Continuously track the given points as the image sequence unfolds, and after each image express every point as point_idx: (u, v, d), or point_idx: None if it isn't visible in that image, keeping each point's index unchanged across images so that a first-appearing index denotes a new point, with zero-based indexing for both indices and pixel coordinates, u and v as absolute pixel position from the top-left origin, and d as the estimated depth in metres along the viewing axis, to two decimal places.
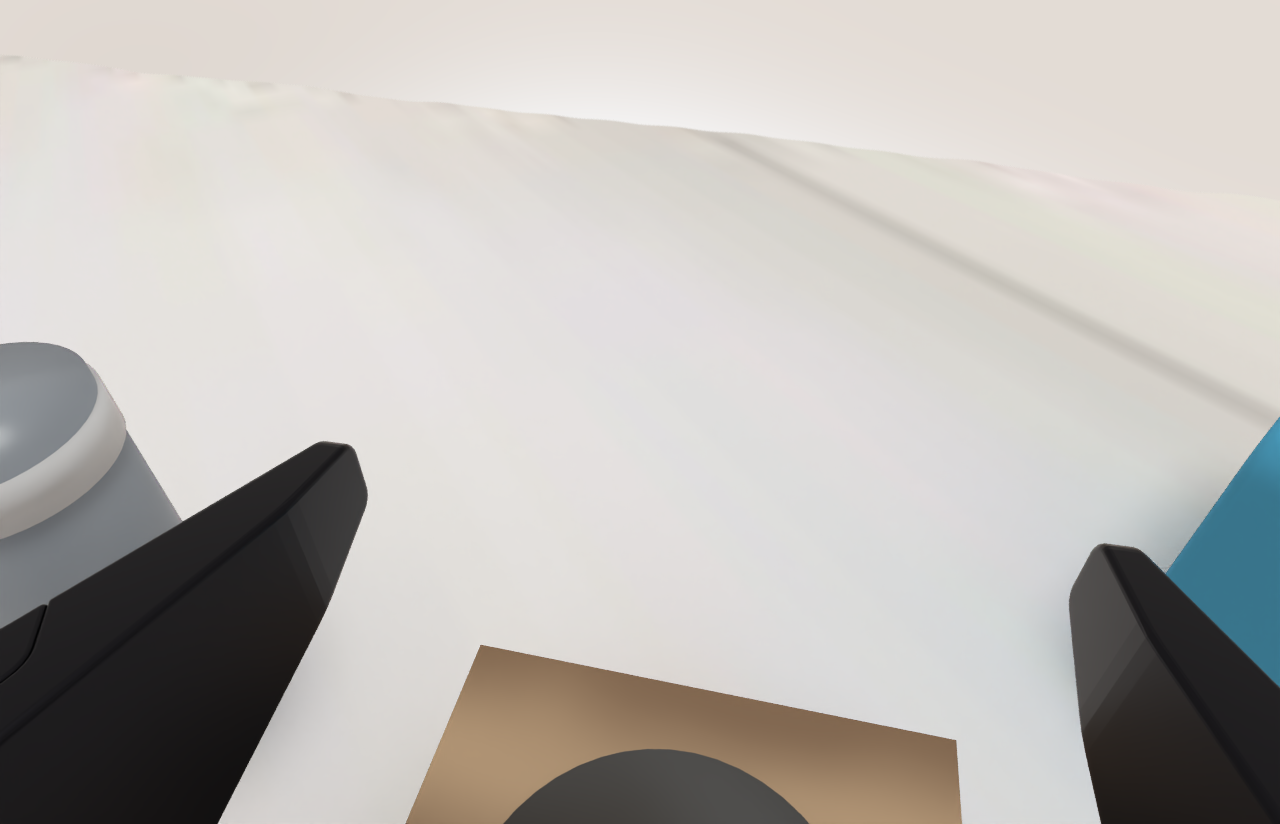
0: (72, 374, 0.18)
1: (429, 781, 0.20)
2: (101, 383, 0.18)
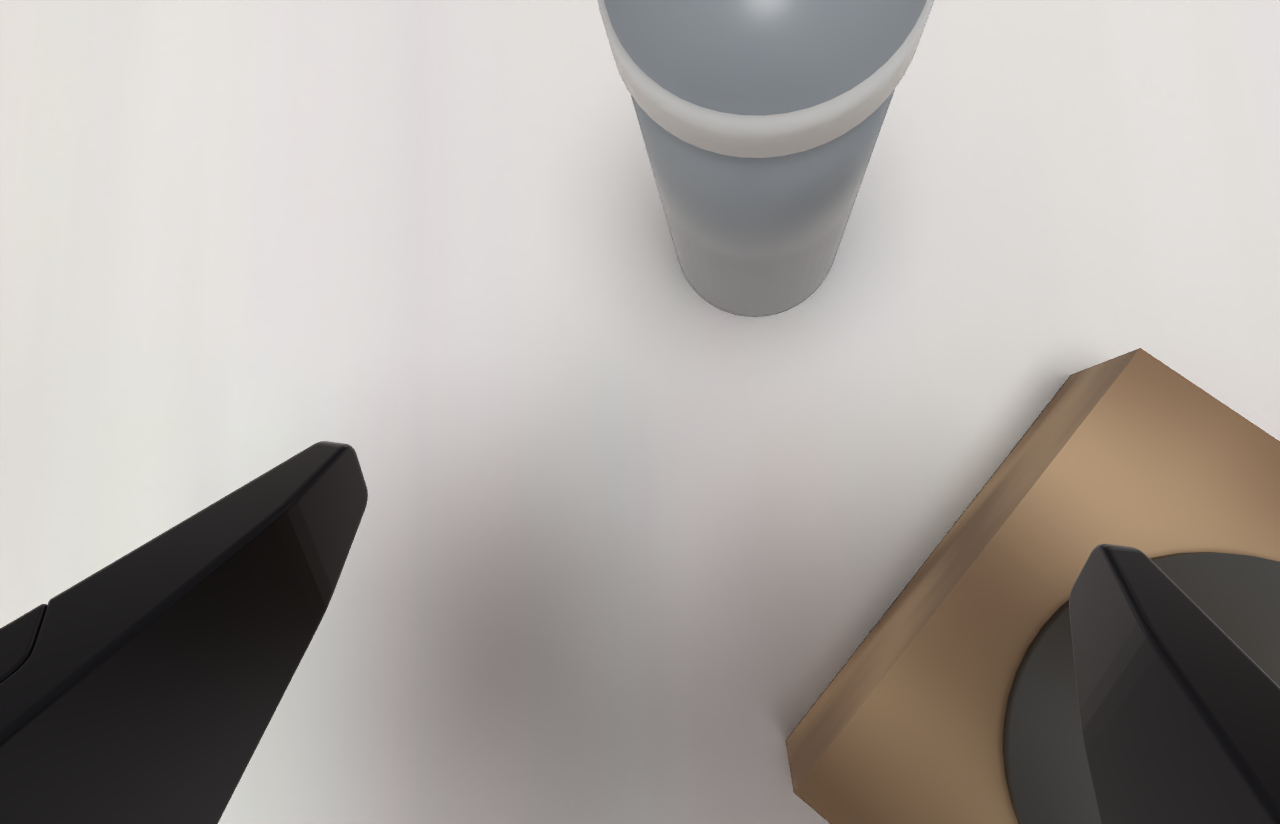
0: None
1: (1042, 485, 0.18)
2: None
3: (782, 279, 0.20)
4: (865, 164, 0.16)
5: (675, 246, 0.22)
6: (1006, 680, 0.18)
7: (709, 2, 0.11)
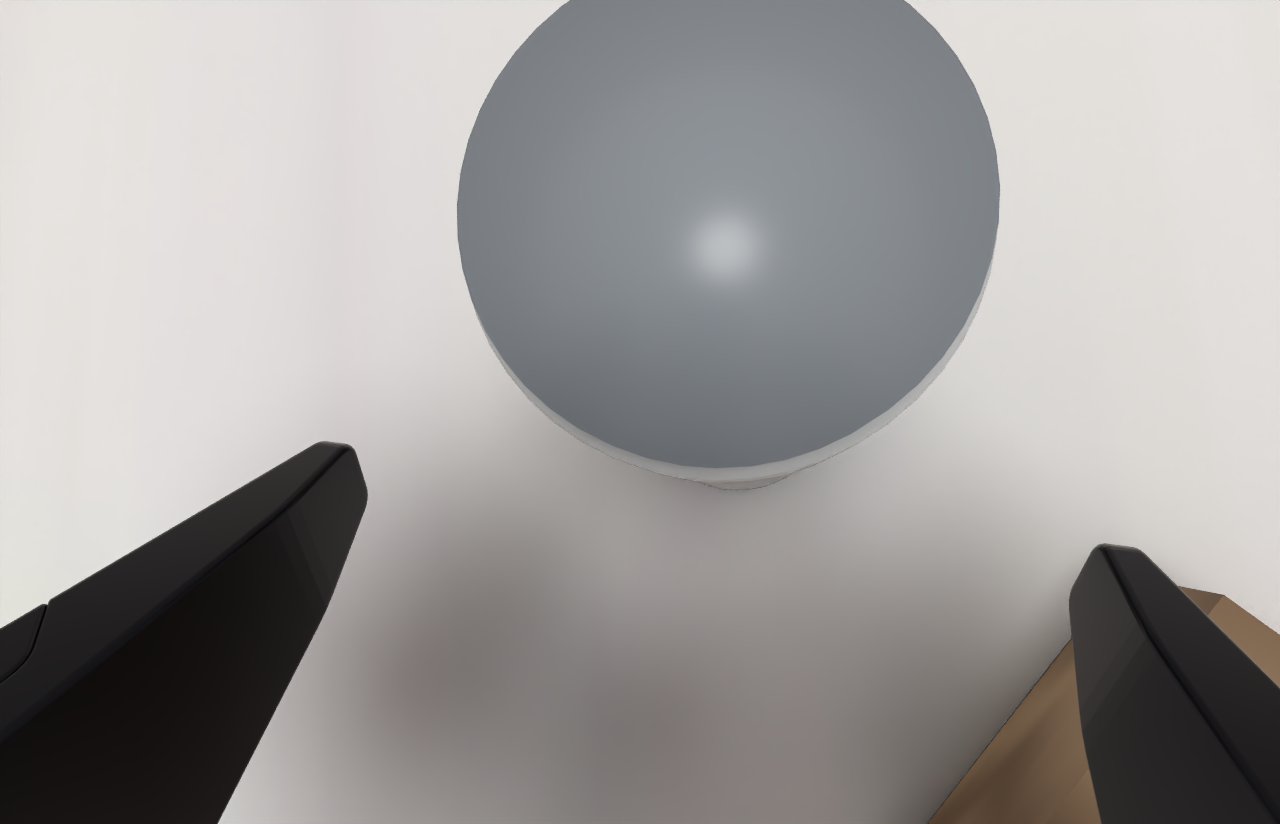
0: (956, 149, 0.07)
1: None
2: (991, 168, 0.07)
3: (765, 483, 0.16)
4: None
5: None
6: None
7: (628, 295, 0.07)
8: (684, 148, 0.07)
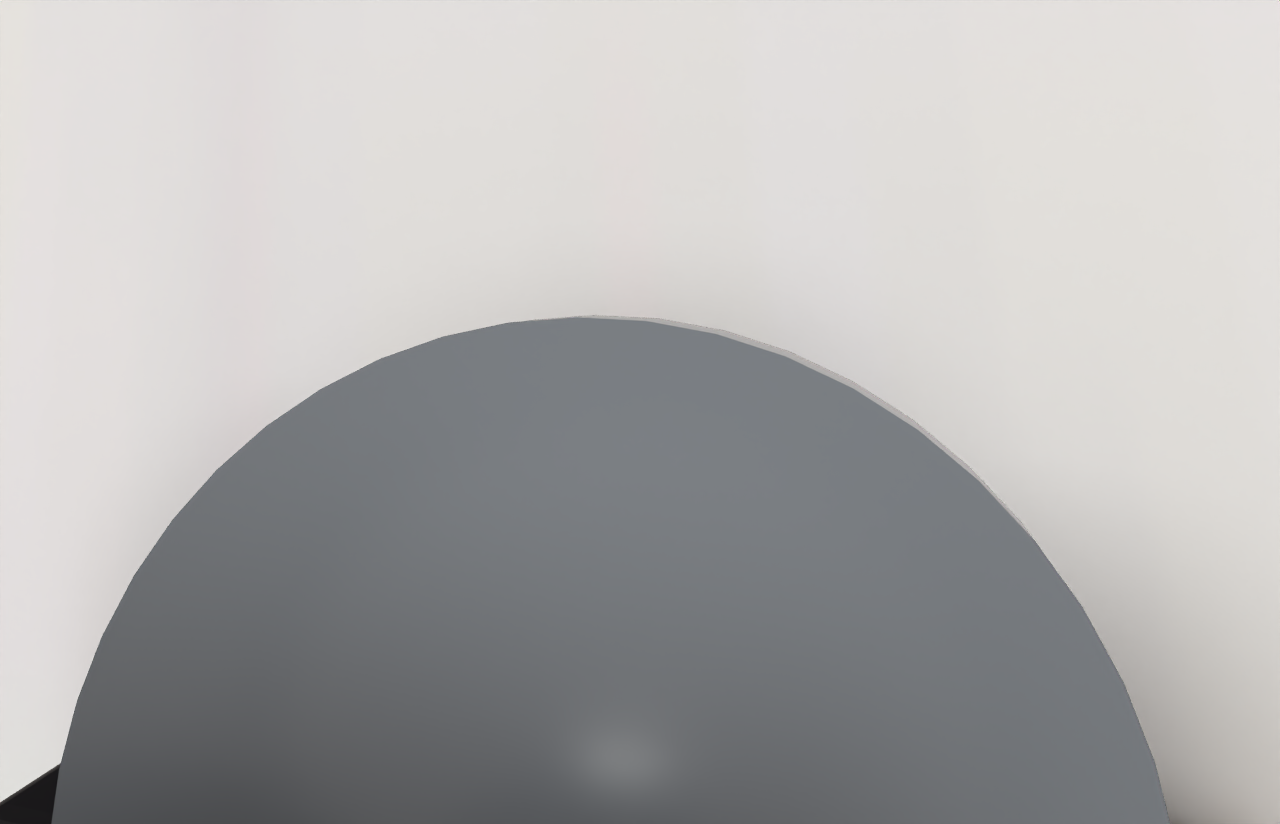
0: None
1: None
2: (1143, 806, 0.03)
3: None
4: None
5: None
6: None
7: None
8: (500, 762, 0.03)
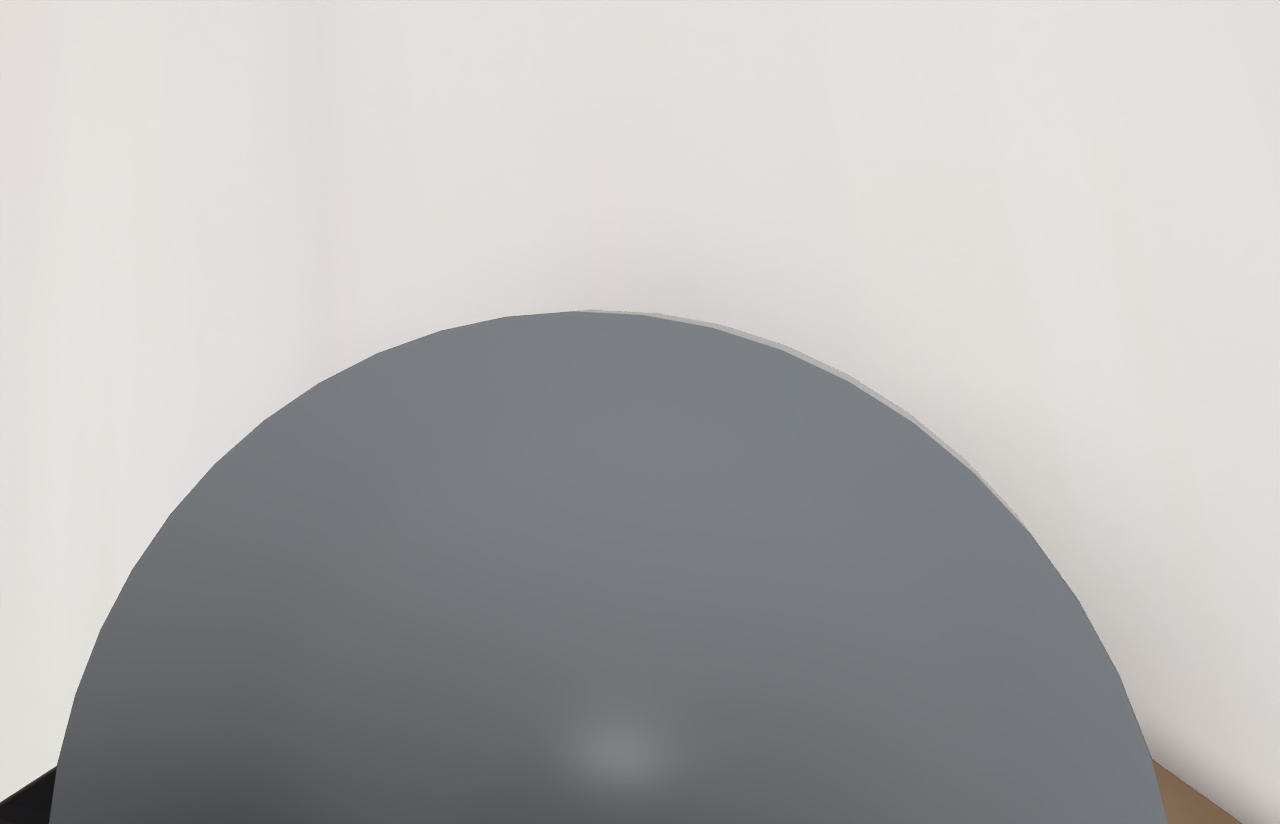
0: None
1: None
2: (1141, 796, 0.03)
3: None
4: None
5: None
6: None
7: None
8: (497, 755, 0.03)
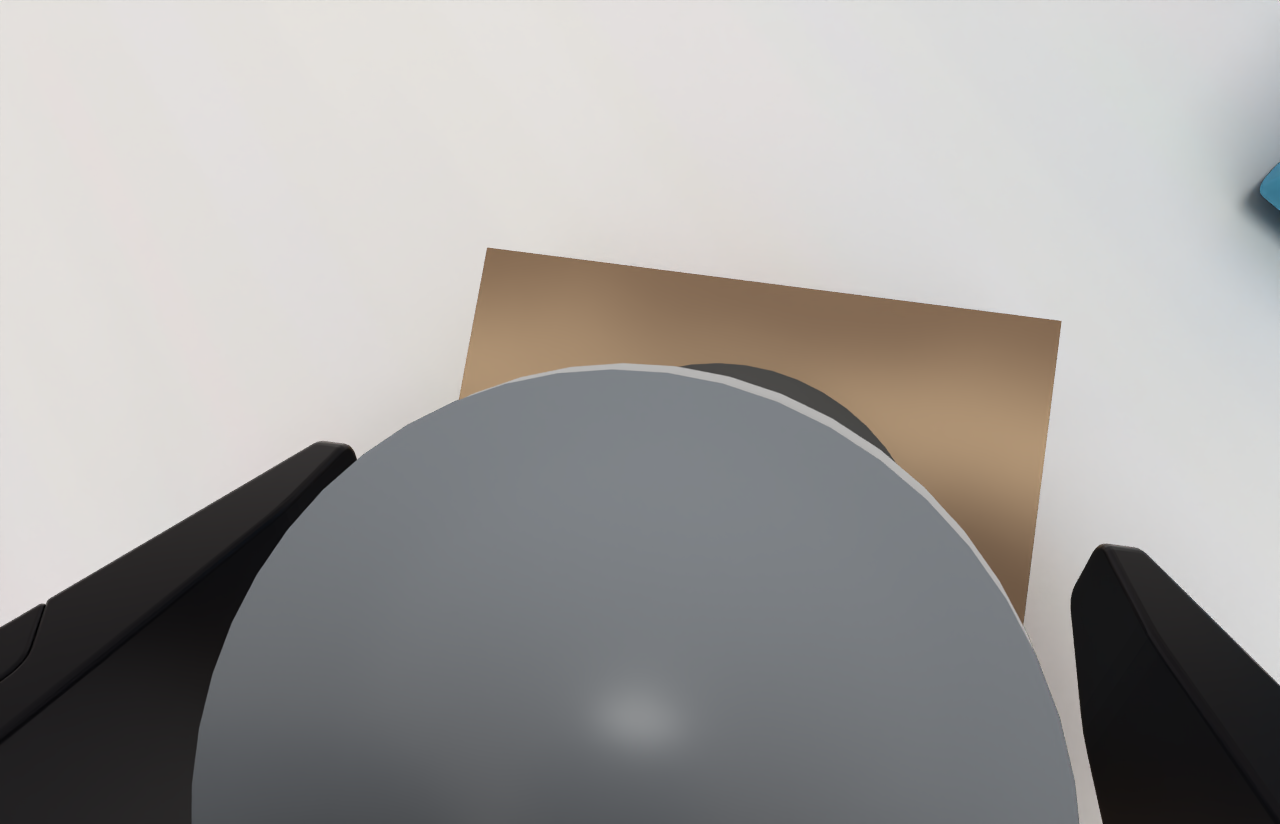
0: (1004, 771, 0.04)
1: None
2: (1058, 754, 0.04)
3: None
4: None
5: None
6: None
7: None
8: (553, 721, 0.04)
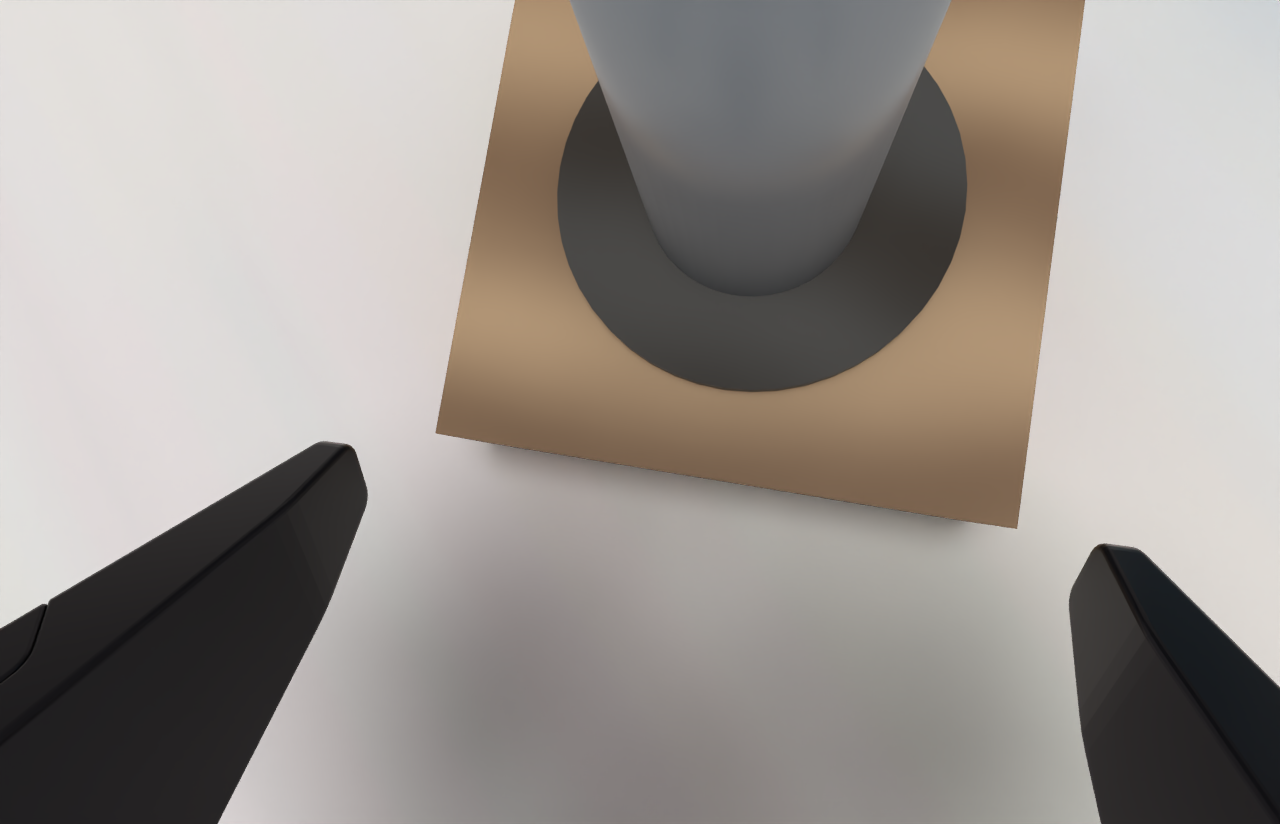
0: None
1: (509, 63, 0.19)
2: None
3: (792, 239, 0.14)
4: (935, 31, 0.09)
5: None
6: (558, 235, 0.19)
7: None
8: None
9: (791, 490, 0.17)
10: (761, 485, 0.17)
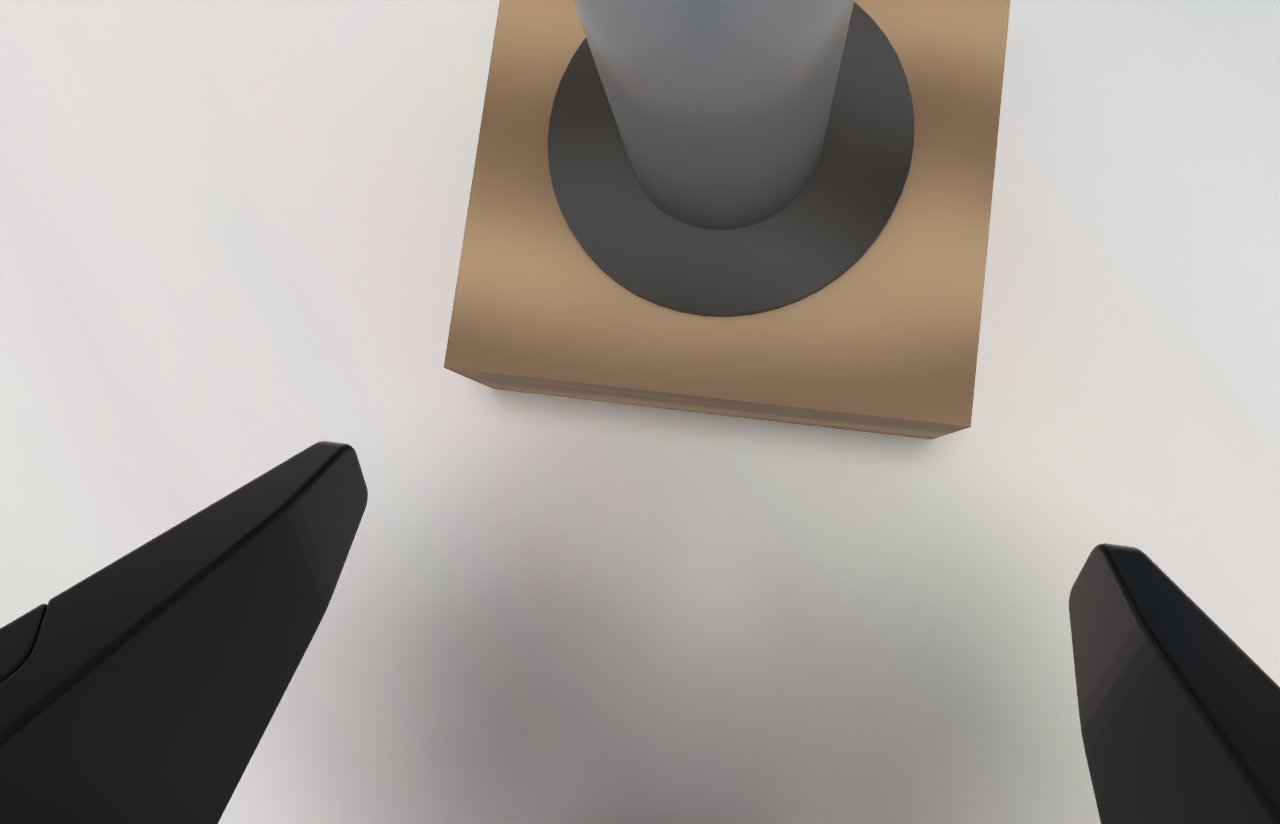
0: None
1: (500, 33, 0.21)
2: None
3: (754, 161, 0.16)
4: None
5: (621, 136, 0.17)
6: (549, 185, 0.21)
7: None
8: None
9: (767, 402, 0.19)
10: (740, 399, 0.19)
